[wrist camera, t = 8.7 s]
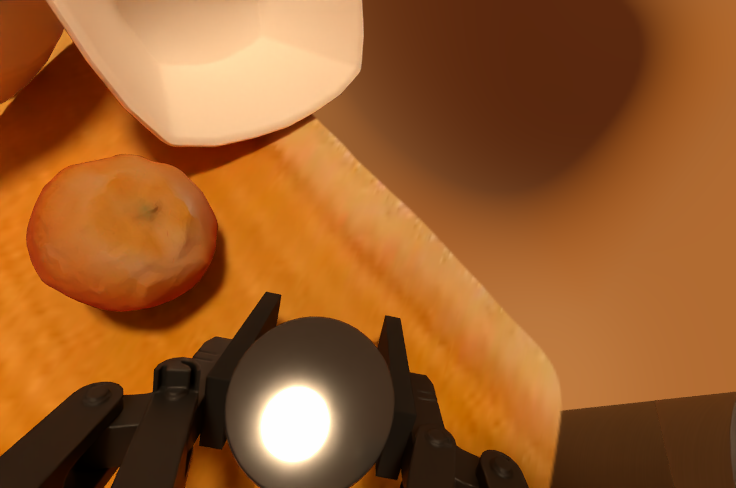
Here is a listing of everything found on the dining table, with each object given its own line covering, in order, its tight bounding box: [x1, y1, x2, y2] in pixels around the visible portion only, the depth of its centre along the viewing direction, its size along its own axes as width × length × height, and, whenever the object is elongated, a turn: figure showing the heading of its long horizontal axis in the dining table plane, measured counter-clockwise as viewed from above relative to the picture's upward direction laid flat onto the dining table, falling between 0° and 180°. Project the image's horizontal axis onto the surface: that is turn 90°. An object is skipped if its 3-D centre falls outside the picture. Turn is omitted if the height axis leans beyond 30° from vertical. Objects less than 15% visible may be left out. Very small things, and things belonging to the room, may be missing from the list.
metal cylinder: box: [224, 317, 395, 488], centre depth 15 cm, size 5×5×9 cm
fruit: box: [26, 155, 218, 311], centre depth 19 cm, size 8×8×8 cm
